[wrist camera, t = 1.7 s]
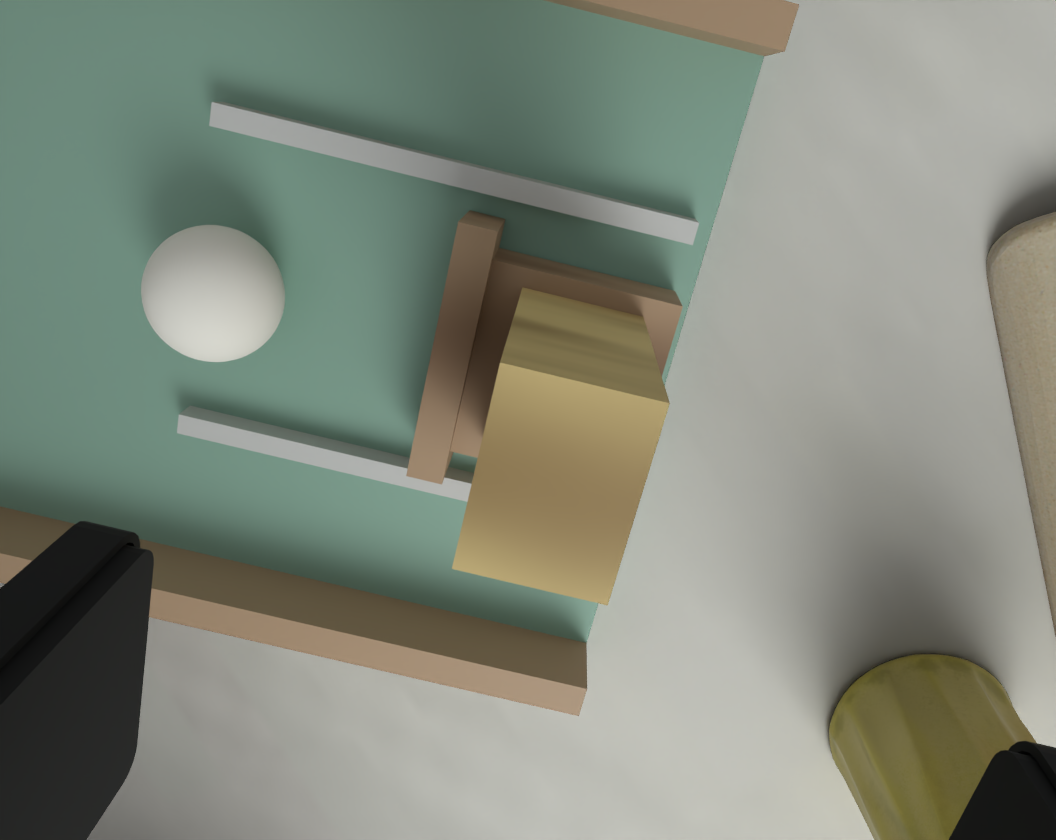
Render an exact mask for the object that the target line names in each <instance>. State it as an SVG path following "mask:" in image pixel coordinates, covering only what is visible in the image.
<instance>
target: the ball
mask: <svg viewBox="0 0 1056 840" xmlns="http://www.w3.org/2000/svg"><path fill="white" fill-rule="evenodd" d="M141 297H142V304H143V308H144V312H145V314H146V317H147V319H148V321H149V323H150V325H151V326H152V328H153V329H154V331H155V332H156V333H157V335H158V336H159V337H160V338H161V339H162V340H163V341H164V342H165V343H166V344H167V345H169V346H170V347H171V348H173V349H174V350H176V351H178V352H179V353H181V354H183V355H185V356H188V357H190V358H193V359H197V360H201V361H207V362H226V361H231V360H236V359H239V358H242V357H245V356H247V355H249V354H251V353H252V352H254V351H256V350H257V349H259V348H260V347H261V346H263V345H264V344H265V343H266V342H267V341H268V340H269V339H270V337H271V336H272V335H273V333H274V332H275V331H276V329H277V327H278V325H279V323H280V320H281V318H282V315H283V311H284V306H285V288H284V283H283V278H282V275H281V272H280V270H279V268H278V266H277V264H276V262H275V261H274V259H273V257H272V256H271V255H270V253H269V252H268V251H267V250H266V249H265V248H264V247H263V246H262V245H261V244H260V243H259V242H257V241H256V240H255V239H253V238H252V237H250V236H249V235H247V234H245V233H243V232H241V231H239V230H236V229H233V228H230V227H225V226H219V225H201V226H194V227H190V228H187V229H184V230H182V231H179V232H177V233H175V234H174V235H172V236H170V237H169V238H167V239H166V240H165V241H164V242H162V243H161V244H160V245H159V247H158V248H157V249H156V250H155V251H154V252H153V254H152V255H151V257H150V258H149V260H148V262H147V265H146V267H145V270H144V273H143V276H142V282H141Z"/></svg>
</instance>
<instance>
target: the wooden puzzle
mask: <svg viewBox="0 0 1056 840" xmlns="http://www.w3.org/2000/svg"><path fill="white" fill-rule="evenodd" d="M986 271H987V279H988V286H989V292H990V298H991V304H992V309H993V315H994V320H995V325H996V330H997V335H998V341H999V346H1000V351H1001V356H1002V362H1003V367H1004V372H1005V377H1006V383H1007V388H1008V393H1009V398H1010V404H1011V409H1012V414H1013V419H1014V425H1015V430H1016V435H1017V440H1018V445H1019V451H1020V456H1021V461H1022V466H1023V471H1024V477H1025V482H1026V487H1027V492H1028V497H1029V502H1030V507H1031V512H1032V518H1033V523H1034V528H1035V533H1036V538H1037V543H1038V548H1039V553H1040V558H1041V564H1042V569H1043V574H1044V579H1045V584H1046V589H1047V594H1048V599H1049V604H1050V609H1051V614H1052V620H1053V625H1054V630H1055V635H1056V212H1053V213H1050V214H1046V215H1043V216H1039V217H1036V218H1034V219H1031V220H1028V221H1026V222H1023V223H1021V224H1018V225H1016V226H1015V227H1013V228H1012V229H1010V230H1008V231H1007V232H1006V233H1004V234H1003V235H1002V236H1001V237H1000V238H999V239H998V240H997V241H996V242H995V243H994V245H993V246H992V247H991V249H990V251H989V253H988V257H987V270H986Z"/></svg>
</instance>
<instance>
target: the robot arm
mask: <svg viewBox="0 0 1056 840" xmlns="http://www.w3.org/2000/svg"><path fill="white" fill-rule="evenodd" d="M153 567H154V557H153V553H152V552H151V551H150V550H147V549H142V548H140V540H139V536H138V535H137V534H136V533H135V532H130V531H126V530H122V529H118V528H113V527H109V526H105V525H101V524H96V523H92V522H88V521H79V522H78V523H76V524H75V525H73V526H72V527H71V528H70V529H68V530H67V531H66V532H65V533H64V534H63V535H62V536H60V537H59V538H58V539H57V540H56V541H55V542H53V543H52V544H51V545H50V546H49V547H48V548H46V549H45V550H44V551H43V552H42V553H41V554H40V555H38V556H37V557H36V558H35V559H34V560H33V561H31V562H30V563H29V564H28V565H27V566H26V567H25V568H23V569H22V570H21V571H20V572H19V573H18V574H16V575H15V576H14V577H13V578H12V579H11V580H9V581H8V582H7V583H6V584H5V585H4V586H3V587H1V588H0V840H86V839H87V838H88V836H89V834H90V833H91V831H92V830H93V828H94V827H95V825H96V824H97V822H98V821H99V819H100V818H101V816H102V815H103V813H104V812H105V810H106V809H107V807H108V806H109V804H110V803H111V801H112V800H113V798H114V797H115V795H116V793H117V792H118V790H119V789H120V787H121V786H122V784H123V783H124V781H125V779H126V777H127V775H128V773H129V771H130V768H131V766H132V763H133V760H134V757H135V753H136V748H137V739H138V729H139V718H140V707H141V696H142V686H143V675H144V664H145V653H146V643H147V632H148V621H149V610H150V599H151V589H152V578H153ZM949 840H1056V748H1054V747H1050V746H1046V745H1041V744H1037V743H1033V742H1029V741H1019V742H1017V743H1015V744H1014V745H1012V746H1011V747H1010V748H1009V750H1002V751H999V752H998V753H996V754H995V755H994V757H993V758H992V760H991V761H990V763H989V765H988V767H987V769H986V771H985V772H984V774H983V776H982V778H981V780H980V782H979V784H978V786H977V787H976V789H975V791H974V793H973V795H972V797H971V799H970V801H969V802H968V804H967V806H966V808H965V810H964V812H963V814H962V816H961V817H960V819H959V821H958V823H957V825H956V827H955V829H954V830H953V832H952V834H951V836H950V838H949Z"/></svg>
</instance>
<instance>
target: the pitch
mask: <svg viewBox="0 0 1056 840" xmlns="http://www.w3.org/2000/svg"><path fill="white" fill-rule="evenodd" d="M798 7H799V4H795V3H791V2H788V1H784V0H0V583H4V584H6V583H7V582H8V581H9V580H11V579H12V578H13V577H14V576H15V575H16V574H18V573H19V572H20V571H21V570H22V569H23V568H25V567H26V566H27V565H28V564H29V563H30V562H31V561H33V560H34V559H35V558H36V557H37V556H38V555H40V554H41V553H42V552H43V551H44V550H45V549H46V548H48V547H49V546H50V545H51V544H52V543H53V542H55V541H56V540H57V539H58V538H59V537H60V536H62V535H63V534H64V533H65V532H66V531H67V530H68V529H70V528H71V527H72V526H73V525H75V524H76V523H78V522H79V521H88V522H92V523H96V524H101V525H105V526H109V527H113V528H118V529H122V530H126V531H130V532H135V533H136V534H137V535H138V536H139V540H140V548H142V549H147V550H150V551H151V552H152V553H153V557H154V567H153V578H152V589H151V599H150V610H149V617H151V618H156V619H160V620H164V621H169V622H173V623H177V624H182V625H186V626H190V627H195V628H199V629H204V630H208V631H212V632H217V633H221V634H225V635H230V636H234V637H238V638H243V639H247V640H251V641H256V642H260V643H264V644H269V645H273V646H277V647H282V648H286V649H290V650H295V651H299V652H303V653H308V654H312V655H316V656H321V657H325V658H329V659H334V660H338V661H342V662H347V663H351V664H355V665H360V666H364V667H368V668H373V669H377V670H381V671H386V672H390V673H394V674H399V675H403V676H407V677H412V678H416V679H420V680H425V681H429V682H433V683H438V684H442V685H446V686H451V687H455V688H459V689H464V690H468V691H472V692H477V693H481V694H485V695H490V696H494V697H498V698H503V699H507V700H511V701H516V702H520V703H524V704H529V705H533V706H538V707H542V708H546V709H551V710H555V711H559V712H564V713H568V714H572V715H577V716H579V713H580V710H581V707H582V704H583V700H584V697H585V694H586V691H587V653H586V642H587V639H588V636H589V633H590V629H591V626H592V623H593V619H594V616H595V613H596V609H597V606H598V603H595V602H591V601H587V600H582V599H578V598H574V597H570V596H565V595H561V594H557V593H553V592H548V591H544V590H540V589H536V588H531V587H527V586H523V585H518V584H514V583H510V582H506V581H501V580H497V579H493V578H489V577H484V576H480V575H476V574H472V573H467V572H463V571H459V570H454V569H452V566H453V562H454V557H455V553H456V549H457V544H458V540H459V536H460V532H461V527H462V523H463V519H464V514H465V510H466V506H467V502H468V497H469V493H470V489H471V484H472V480H473V476H474V472H475V467H476V463H477V459H478V458H476V457H472V456H468V455H463V454H459V453H455V452H453V455H452V458H451V460H450V463H449V466H448V469H447V472H446V474H445V477H444V480H443V483H442V484H437V483H433V482H429V481H425V480H420V479H416V478H412V477H408V476H406V474H407V469H408V464H409V459H410V454H411V450H412V445H413V440H414V435H415V430H416V425H417V420H418V415H419V410H420V406H421V401H422V396H423V391H424V386H425V381H426V376H427V371H428V366H429V362H430V357H431V352H432V347H433V342H434V337H435V332H436V327H437V323H438V318H439V313H440V308H441V303H442V298H443V293H444V288H445V283H446V279H447V274H448V269H449V264H450V259H451V254H452V249H453V244H454V239H455V235H456V230H457V225H458V221H459V220H460V219H461V218H462V217H463V216H464V215H465V214H466V213H467V212H468V211H469V210H471V211H475V212H479V213H483V214H487V215H491V216H495V217H499V218H504V219H505V224H504V228H503V233H502V237H501V242H500V246H499V248H502V249H506V250H510V251H514V252H518V253H523V254H527V255H531V256H535V257H539V258H543V259H547V260H551V261H555V262H559V263H563V264H567V265H571V266H576V267H580V268H584V269H588V270H592V271H596V272H600V273H604V274H608V275H612V276H616V277H620V278H624V279H629V280H633V281H637V282H641V283H645V284H649V285H653V286H657V287H661V288H665V289H669V290H673V291H675V292H676V294H677V296H678V298H679V300H680V302H681V304H682V306H683V308H682V311H681V314H680V318H679V321H678V324H677V328H676V331H675V334H674V338H673V341H672V344H671V348H670V351H669V354H668V358H667V361H666V364H665V368H664V371H663V374H662V380H663V383H664V385H665V382H666V378H667V375H668V372H669V369H670V365H671V362H672V359H673V355H674V352H675V349H676V345H677V342H678V339H679V336H680V332H681V329H682V326H683V322H684V319H685V316H686V312H687V309H688V306H689V303H690V299H691V296H692V293H693V289H694V286H695V283H696V280H697V276H698V273H699V270H700V266H701V263H702V260H703V256H704V253H705V250H706V247H707V243H708V240H709V237H710V233H711V230H712V227H713V223H714V220H715V217H716V214H717V210H718V207H719V204H720V200H721V197H722V194H723V190H724V187H725V184H726V181H727V177H728V174H729V171H730V167H731V164H732V161H733V157H734V154H735V151H736V148H737V144H738V141H739V138H740V134H741V131H742V128H743V124H744V121H745V118H746V115H747V111H748V108H749V105H750V101H751V98H752V95H753V91H754V88H755V85H756V82H757V78H758V75H759V72H760V68H761V65H762V62H763V58H764V56H767V55H771V54H776V53H780V52H784V51H785V49H786V45H787V42H788V39H789V36H790V33H791V29H792V26H793V23H794V20H795V16H796V13H797V10H798ZM201 225H219V226H225V227H230V228H233V229H236V230H239V231H241V232H243V233H245V234H247V235H249V236H250V237H252V238H253V239H255V240H256V241H257V242H259V243H260V244H261V245H262V246H263V247H264V248H265V249H266V250H267V251H268V252H269V253H270V255H271V256H272V257H273V259H274V261H275V262H276V264H277V266H278V268H279V270H280V272H281V275H282V278H283V283H284V288H285V306H284V311H283V315H282V318H281V320H280V323H279V325H278V327H277V329H276V331H275V332H274V333H273V335H272V336H271V337H270V339H269V340H268V341H267V342H266V343H265V344H264V345H263V346H261V347H260V348H259V349H257V350H256V351H254V352H252V353H251V354H249V355H247V356H245V357H242V358H239V359H236V360H231V361H226V362H207V361H201V360H197V359H193V358H190V357H188V356H185V355H183V354H181V353H179V352H178V351H176V350H174V349H173V348H171V347H170V346H169V345H167V344H166V343H165V342H164V341H163V340H162V339H161V338H160V337H159V336H158V335H157V333H156V332H155V331H154V329H153V328H152V326H151V325H150V323H149V321H148V319H147V317H146V314H145V312H144V308H143V304H142V297H141V282H142V276H143V273H144V270H145V267H146V265H147V262H148V260H149V258H150V257H151V255H152V254H153V252H154V251H155V250H156V249H157V248H158V247H159V245H160V244H161V243H162V242H164V241H165V240H166V239H167V238H169V237H170V236H172V235H174V234H175V233H177V232H179V231H182V230H184V229H187V228H190V227H194V226H201Z"/></svg>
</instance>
